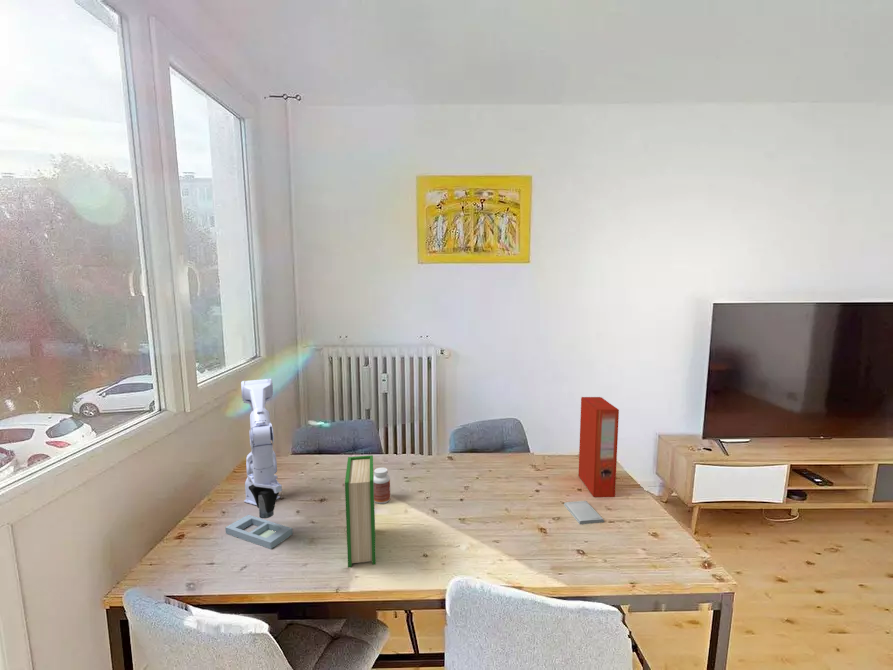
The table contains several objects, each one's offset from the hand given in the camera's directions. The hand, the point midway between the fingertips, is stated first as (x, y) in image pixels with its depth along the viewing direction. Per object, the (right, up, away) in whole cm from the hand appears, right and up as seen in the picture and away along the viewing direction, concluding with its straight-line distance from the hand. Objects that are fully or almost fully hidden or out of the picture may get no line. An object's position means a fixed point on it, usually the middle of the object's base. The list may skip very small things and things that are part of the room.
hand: (265, 509), depth 133 cm
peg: (0, -2, 0) cm, 2 cm away
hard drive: (+100, -7, +13) cm, 101 cm away
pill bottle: (+31, -6, +23) cm, 40 cm away
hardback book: (+30, -9, -5) cm, 32 cm away
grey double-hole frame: (-3, -9, +3) cm, 10 cm away
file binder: (+111, -4, +33) cm, 115 cm away
